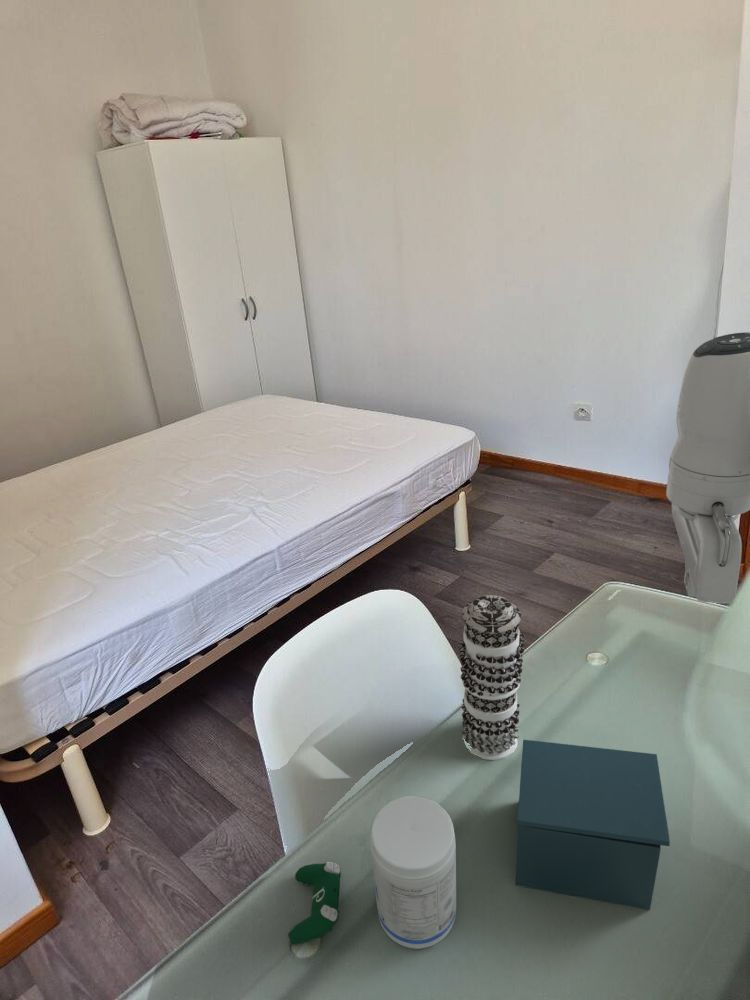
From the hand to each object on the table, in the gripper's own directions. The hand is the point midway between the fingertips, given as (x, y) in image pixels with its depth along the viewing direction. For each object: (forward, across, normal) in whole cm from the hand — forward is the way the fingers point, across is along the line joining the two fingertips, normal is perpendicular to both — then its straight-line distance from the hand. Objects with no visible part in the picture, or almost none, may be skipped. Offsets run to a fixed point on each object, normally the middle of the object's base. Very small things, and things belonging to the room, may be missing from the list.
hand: (693, 590), depth 81 cm
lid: (+22, -12, +11) cm, 27 cm away
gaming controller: (+33, -26, +42) cm, 60 cm away
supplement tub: (+33, -24, +30) cm, 51 cm away
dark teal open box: (+33, -12, +11) cm, 37 cm away
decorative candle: (+33, +5, +24) cm, 41 cm away
